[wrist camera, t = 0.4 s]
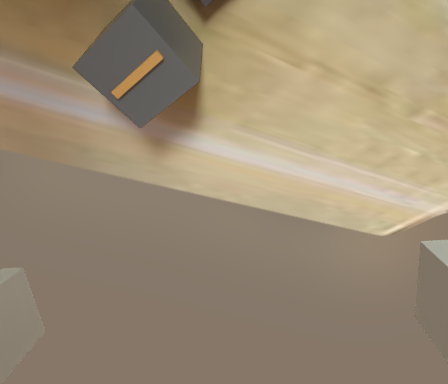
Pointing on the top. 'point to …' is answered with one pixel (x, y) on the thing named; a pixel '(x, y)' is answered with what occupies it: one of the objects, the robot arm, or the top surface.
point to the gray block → (143, 59)
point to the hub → (206, 2)
